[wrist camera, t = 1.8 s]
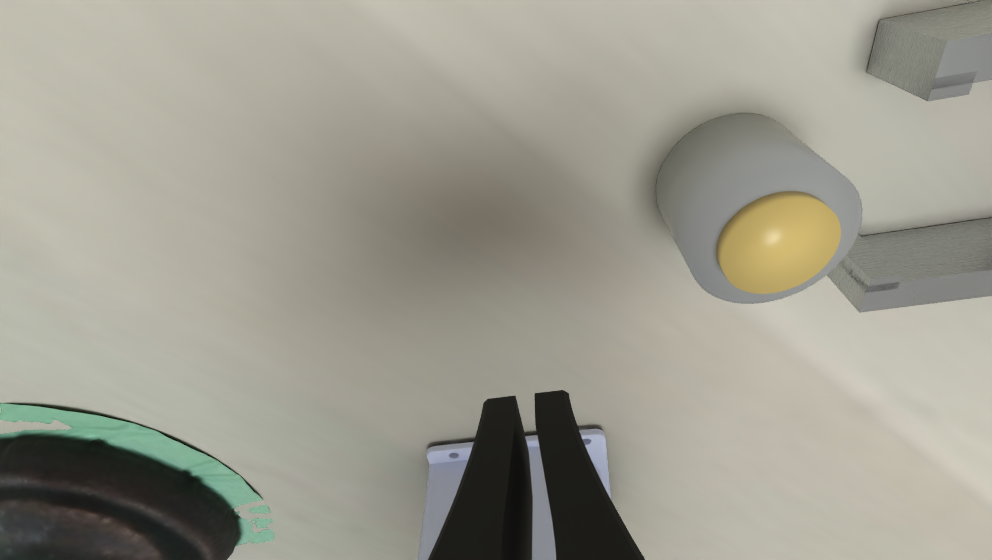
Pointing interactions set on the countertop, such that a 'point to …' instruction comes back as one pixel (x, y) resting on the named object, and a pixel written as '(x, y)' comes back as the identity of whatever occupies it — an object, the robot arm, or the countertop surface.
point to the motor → (937, 249)
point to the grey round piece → (755, 209)
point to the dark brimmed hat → (115, 493)
